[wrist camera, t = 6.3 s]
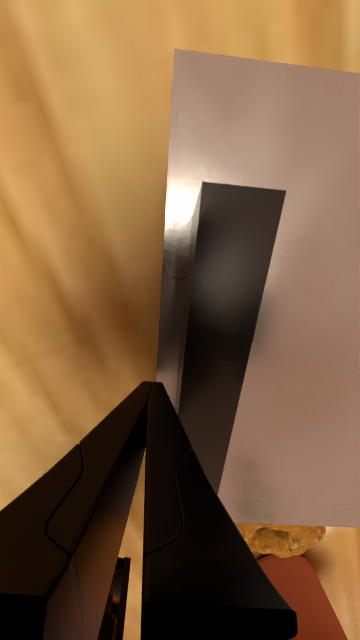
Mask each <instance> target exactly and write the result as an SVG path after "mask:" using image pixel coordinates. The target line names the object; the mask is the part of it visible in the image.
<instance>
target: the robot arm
mask: <svg viewBox="0 0 360 640" xmlns="http://www.w3.org/2000/svg"><path fill="white" fill-rule="evenodd" d="M145 447H146V461H145V497H144V534H143V570H142V606H141V640H289V639H293V638H294V637H296V635H297V633H298V625H297V614H296V612H295V611H294V610H293V609H292V608H291V606H290V605H289V604H288V603H287V602H286V600H285V599H284V598H283V597H282V595H281V594H280V593H279V592H278V590H277V589H276V588H275V586H274V585H273V584H272V582H271V581H270V579H269V578H268V576H267V575H266V573H265V572H264V570H263V569H262V567H261V566H260V564H259V562H258V561H257V559H256V558H255V556H254V554H253V553H252V551H251V549H250V548H249V546H248V544H247V543H246V541H245V540H244V538H243V536H242V535H241V533H240V531H239V530H238V528H237V526H236V525H235V523H234V521H233V520H232V518H231V517H230V515H229V513H228V512H227V510H226V508H225V507H224V505H223V503H222V502H221V500H220V498H219V497H218V495H217V493H216V491H215V490H214V488H213V486H212V485H211V483H210V481H209V479H208V478H207V476H206V474H205V472H204V470H203V468H202V466H201V464H200V462H199V460H198V457H197V455H196V453H195V451H194V449H193V447H192V445H191V443H190V441H189V438H188V436H187V434H186V432H185V430H184V428H183V425H182V423H181V421H180V419H179V417H178V415H177V413H176V410H175V408H174V406H173V404H172V402H171V400H170V398H169V395H168V393H167V391H166V389H165V387H164V385H163V383H162V382H152V381H143V382H142V383H141V384H140V385H139V386H138V387H137V388H136V389H135V390H133V391H132V392H131V393H130V394H129V395H128V396H127V397H126V398H125V399H124V400H123V401H122V402H121V403H120V404H119V405H118V406H117V407H116V408H115V409H114V410H112V411H111V412H110V413H109V414H108V415H107V416H106V417H105V418H104V419H103V420H102V421H101V422H100V423H99V424H98V425H97V426H96V427H95V428H94V429H93V430H92V431H90V432H89V433H88V434H87V435H86V436H85V437H84V438H83V439H82V440H81V441H80V442H79V444H77V445H76V446H75V447H74V448H72V449H71V450H70V451H69V452H68V453H67V454H66V455H65V456H64V457H63V458H62V459H61V460H60V461H59V462H57V463H56V464H55V465H54V466H53V467H52V468H51V469H50V470H49V471H48V472H46V473H45V474H44V475H43V476H42V477H40V478H39V479H38V480H37V481H36V482H35V483H33V484H32V485H31V486H30V487H29V488H27V489H26V490H25V491H24V492H23V493H21V494H20V495H19V496H18V497H17V498H15V499H14V500H13V501H12V502H11V503H9V504H8V505H7V506H6V507H4V508H3V509H2V510H1V511H0V640H123V631H124V621H125V611H126V601H127V591H128V581H129V571H130V561H131V558H128V557H124V558H120V557H118V555H119V551H120V547H121V543H122V539H123V535H124V531H125V527H126V523H127V519H128V515H129V511H130V507H131V503H132V499H133V495H134V491H135V487H136V483H137V479H138V475H139V471H140V467H141V463H142V459H143V456H144V452H145Z"/></svg>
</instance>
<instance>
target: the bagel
mask: <svg viewBox="0 0 360 640" xmlns="http://www.w3.org/2000/svg"><path fill="white" fill-rule="evenodd" d="M235 525H236V526H237V528H238V530H239V531H240V533H241V535H242V536H243V538H244V540H245V541H246V543H247V544H248V546H249V548H250V549H251V551H252V552H253V551H255V552H256V551H258V552H259V553H261V554H271V553H272V554H274V555H276V556H278V557H280V558H287V557H288V558H289V557H291V556H292V555H300V554H303V553H304V552H305V551H306V550H309V549H310V548H311V547H313V546H315V545H316V544H318V543H319V542H320V541H322V539H323V537H324V535H325V532H326V530H325V529H326V528H325V526H304V525H277V524H250V523H235Z"/></svg>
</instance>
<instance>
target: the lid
mask: <svg viewBox="0 0 360 640" xmlns="http://www.w3.org/2000/svg"><path fill="white" fill-rule="evenodd" d="M156 382H162V383H163V385H164V387H165V389H166V391H167V393H168V395H169V398H170V400H171V402H172V404H173V406H174V408H175V410H176V413H177V415H178V417H179V419H180V421H181V423H182V425H183V428H184V430H185V432H186V434H187V436H188V438H189V441H190V443H191V445H192V447H193V449H194V451H195V453H196V455H197V457H198V460H199V462H200V464H201V466H202V468H203V470H204V472H205V474H206V476H207V478H208V479H209V481H210V483H211V485H212V486H213V488H214V490H215V491H216V493H217V495H218V497H219V498H220V500H221V502H222V503H223V505H224V507H225V508H226V510H227V512H228V513H229V515H230V517H231V518H232V520H233V521H234V523H250V524H277V525H304V526H330V527H357V528H360V74H359V73H352V72H344V71H337V70H329V69H322V68H314V67H307V66H299V65H292V64H284V63H277V62H270V61H262V60H255V59H247V58H240V57H232V56H225V55H217V54H210V53H202V52H195V51H188V50H180V49H174V66H173V84H172V103H171V121H170V139H169V157H168V176H167V194H166V212H165V230H164V248H163V267H162V285H161V303H160V321H159V339H158V358H157V376H156Z"/></svg>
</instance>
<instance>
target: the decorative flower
mask: <svg viewBox="0 0 360 640" xmlns="http://www.w3.org/2000/svg"><path fill="white" fill-rule="evenodd" d="M258 562H259V564H260V566H261V567H262V569H263V570H264V572H265V573H266V575H267V576H268V578H269V579H270V581H271V582H272V584H273V585H274V586H275V588H276V589H277V590H278V592H279V593H280V594H281V595H282V597H283V598H284V599H285V600H286V602H287V603H288V604H289V605H290V606H291V608H292V609H293V610H294V611H295V612H296V614H297V625H298V633H297V635H296V637H294V638H293V639H289V640H348V639H347V637H346V635H345V633H344V631H343V629H342V627H341V625H340V623H339V620H338V618H337V616H336V614H335V612H334V610H333V608H332V606H331V604H330V602H329V600H328V597H327V595H326V593H325V591H324V589H323V587H322V585H321V583H320V581H319V579H318V577H317V575H316V573H315V571H314V569H313V568H312V566H311V564H310V563H309V562H308V561H307V560H306V559H305V558H304V557H303V556H301V555H292V556H291V557H289V558H288V557H287V558H280V557H278V556H276V555H274V554H269V555H266V556H264V557H263V558H261V559H259V560H258Z"/></svg>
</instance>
